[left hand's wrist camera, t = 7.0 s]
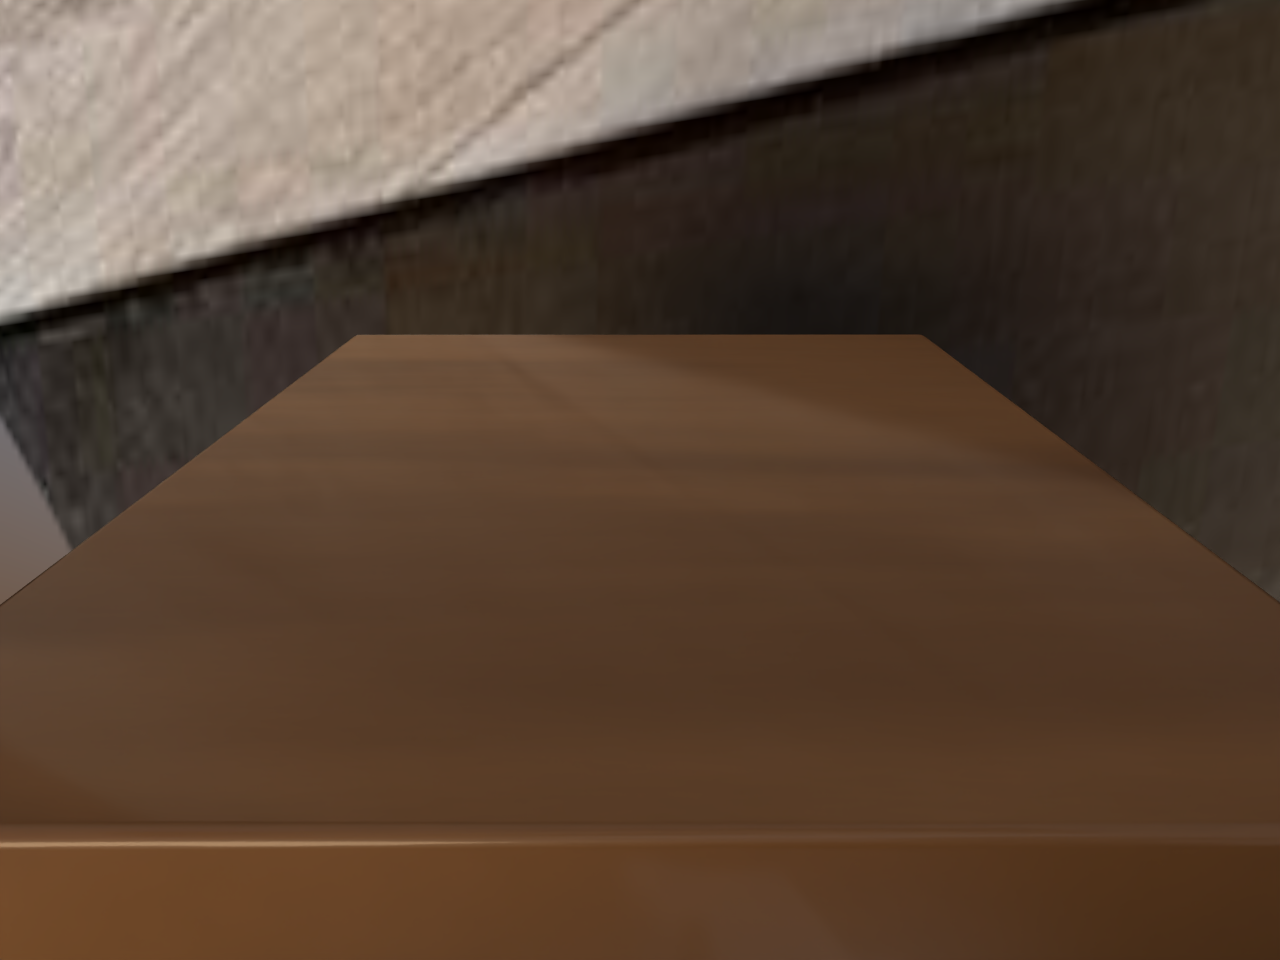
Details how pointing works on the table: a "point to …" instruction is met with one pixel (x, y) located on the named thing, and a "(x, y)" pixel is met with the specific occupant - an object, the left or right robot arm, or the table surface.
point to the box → (640, 677)
